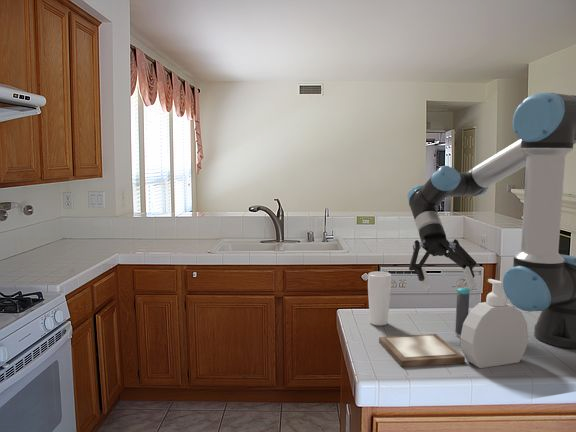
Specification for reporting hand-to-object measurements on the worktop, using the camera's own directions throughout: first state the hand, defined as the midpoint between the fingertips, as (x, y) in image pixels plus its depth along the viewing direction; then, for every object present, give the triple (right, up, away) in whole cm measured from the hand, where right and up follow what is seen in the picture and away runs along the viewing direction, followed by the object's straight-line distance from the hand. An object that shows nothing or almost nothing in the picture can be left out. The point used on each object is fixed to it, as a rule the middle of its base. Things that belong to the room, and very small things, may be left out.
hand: (450, 289), depth 146 cm
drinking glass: (-20, -11, +6) cm, 23 cm away
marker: (+1, -12, -5) cm, 13 cm away
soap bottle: (+3, -15, -22) cm, 26 cm away
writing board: (-13, -14, -16) cm, 25 cm away
